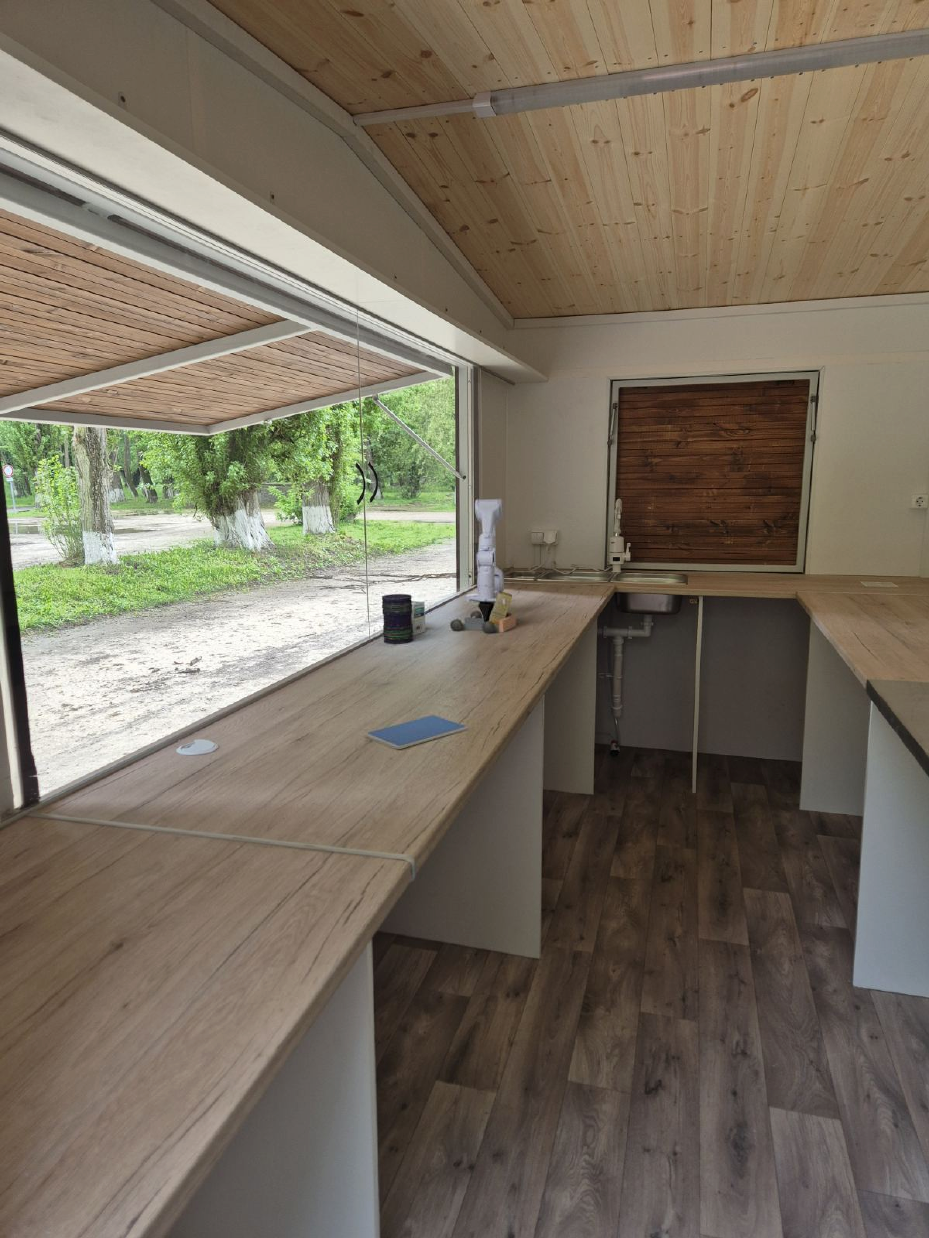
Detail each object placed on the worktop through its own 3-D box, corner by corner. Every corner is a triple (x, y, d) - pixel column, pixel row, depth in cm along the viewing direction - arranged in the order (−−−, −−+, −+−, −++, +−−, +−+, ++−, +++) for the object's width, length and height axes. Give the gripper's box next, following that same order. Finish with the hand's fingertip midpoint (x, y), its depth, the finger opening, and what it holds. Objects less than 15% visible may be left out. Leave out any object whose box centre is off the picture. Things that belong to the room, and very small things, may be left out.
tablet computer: (433, 719, 188) (433, 713, 188) (470, 731, 179) (469, 725, 178) (363, 738, 175) (363, 732, 175) (399, 753, 166) (398, 746, 166)
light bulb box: (426, 632, 284) (425, 601, 282) (415, 635, 278) (414, 604, 276) (401, 629, 290) (400, 599, 288) (389, 632, 284) (388, 602, 282)
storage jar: (412, 644, 265) (410, 598, 262) (381, 644, 265) (379, 599, 262) (414, 637, 275) (413, 593, 272) (385, 638, 275) (383, 594, 272)
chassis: (469, 621, 302) (469, 610, 301) (519, 624, 294) (519, 613, 293) (447, 630, 285) (447, 619, 284) (499, 634, 277) (499, 622, 276)
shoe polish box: (501, 626, 290) (512, 594, 288) (501, 629, 285) (512, 596, 283) (488, 622, 290) (498, 590, 288) (487, 624, 285) (498, 592, 283)
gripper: (462, 585, 286) (463, 623, 288) (501, 587, 279) (501, 626, 282) (471, 582, 292) (471, 620, 294) (509, 584, 286) (509, 622, 288)
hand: (486, 623), depth 289 cm, fingers closed, pressing on shoe polish box
